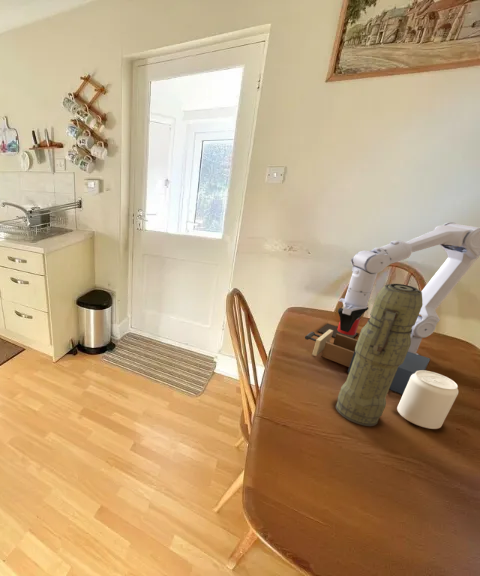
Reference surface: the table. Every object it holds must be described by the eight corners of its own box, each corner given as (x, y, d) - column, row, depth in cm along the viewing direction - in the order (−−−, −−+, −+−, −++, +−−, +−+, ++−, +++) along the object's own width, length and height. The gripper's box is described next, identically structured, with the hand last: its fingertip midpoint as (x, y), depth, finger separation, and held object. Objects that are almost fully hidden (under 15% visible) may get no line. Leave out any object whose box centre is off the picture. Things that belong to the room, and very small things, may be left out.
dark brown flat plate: (327, 324, 126) (327, 323, 126) (357, 334, 118) (358, 333, 118) (317, 331, 120) (317, 330, 120) (348, 342, 113) (348, 341, 113)
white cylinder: (450, 433, 74) (471, 392, 70) (410, 428, 76) (429, 388, 72) (424, 409, 82) (442, 371, 77) (388, 405, 83) (404, 367, 79)
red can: (340, 326, 105) (344, 311, 103) (357, 332, 101) (362, 316, 99) (334, 331, 102) (339, 315, 100) (352, 336, 99) (358, 320, 97)
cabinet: (347, 372, 97) (354, 351, 94) (360, 358, 104) (367, 338, 101) (411, 398, 86) (421, 375, 83) (420, 380, 93) (430, 358, 90)
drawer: (298, 349, 107) (302, 334, 105) (311, 338, 114) (315, 324, 112) (361, 374, 94) (367, 358, 92) (373, 361, 100) (379, 345, 98)
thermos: (380, 409, 82) (432, 285, 69) (375, 435, 74) (432, 300, 61) (339, 393, 87) (379, 276, 75) (330, 416, 80) (374, 289, 67)
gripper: (351, 281, 104) (340, 317, 109) (335, 291, 95) (324, 330, 100) (378, 287, 98) (365, 325, 103) (364, 298, 90) (351, 339, 95)
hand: (347, 328), depth 102 cm, fingers closed on red can, 5 cm apart
